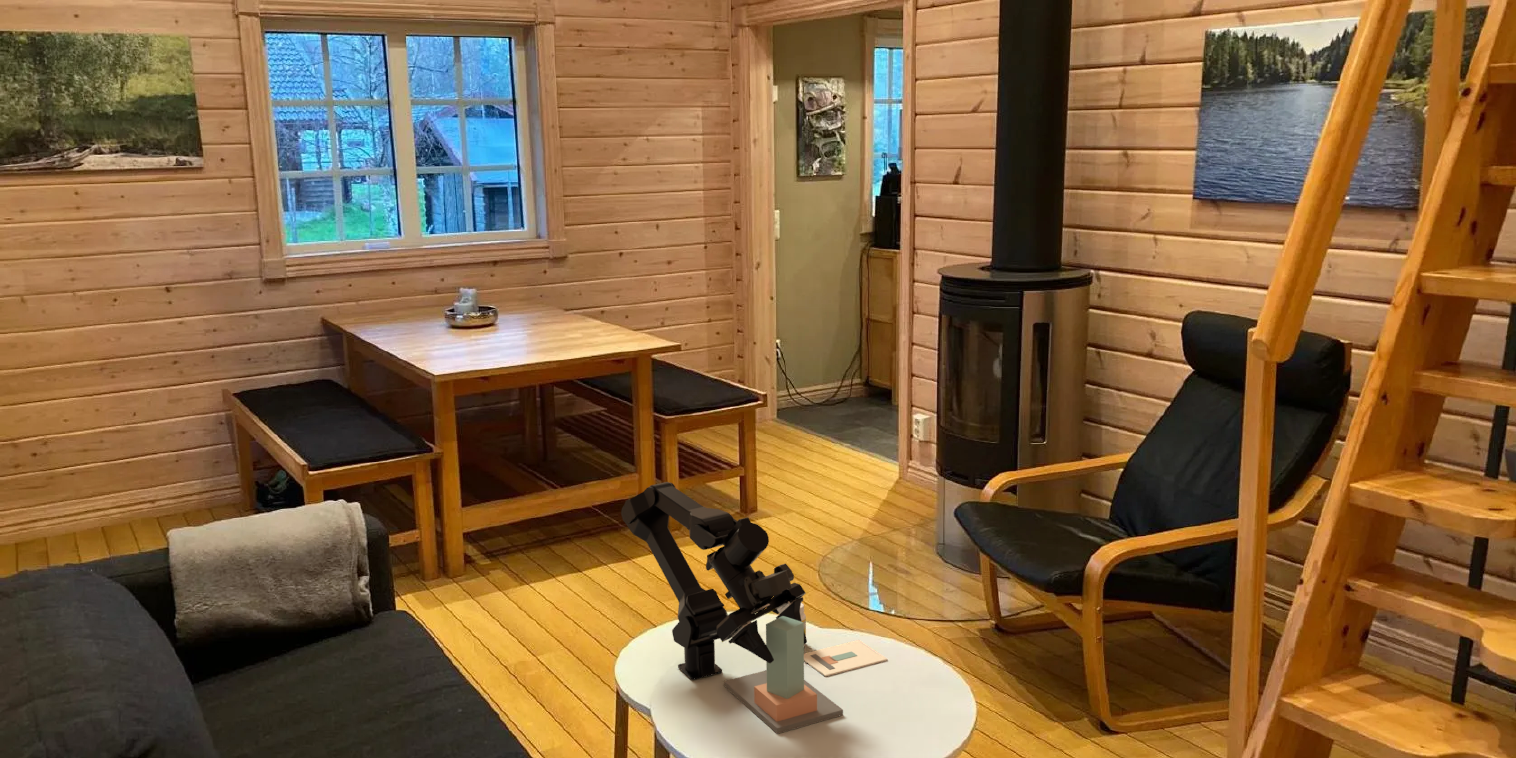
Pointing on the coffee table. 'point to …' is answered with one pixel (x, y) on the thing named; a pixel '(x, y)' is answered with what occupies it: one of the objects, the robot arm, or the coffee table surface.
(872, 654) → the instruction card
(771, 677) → the tall brick
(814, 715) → the baseplate
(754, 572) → the robot arm
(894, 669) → the coffee table surface
